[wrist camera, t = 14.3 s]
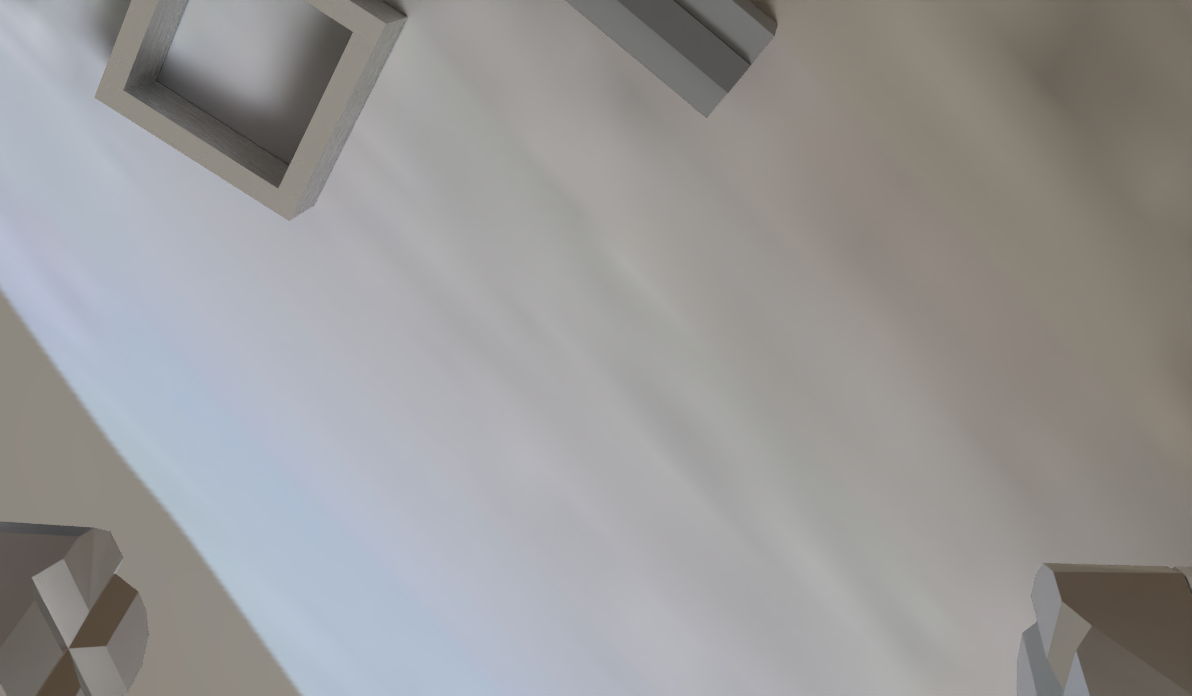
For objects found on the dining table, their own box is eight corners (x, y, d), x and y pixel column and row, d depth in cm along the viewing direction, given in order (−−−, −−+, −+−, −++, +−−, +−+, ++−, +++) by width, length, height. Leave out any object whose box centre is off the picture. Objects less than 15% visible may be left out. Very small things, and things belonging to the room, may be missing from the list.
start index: (407, 17, 36) (385, 23, 34) (313, 205, 39) (289, 220, 37) (207, -114, 36) (174, -114, 34) (128, 87, 39) (94, 97, 37)
